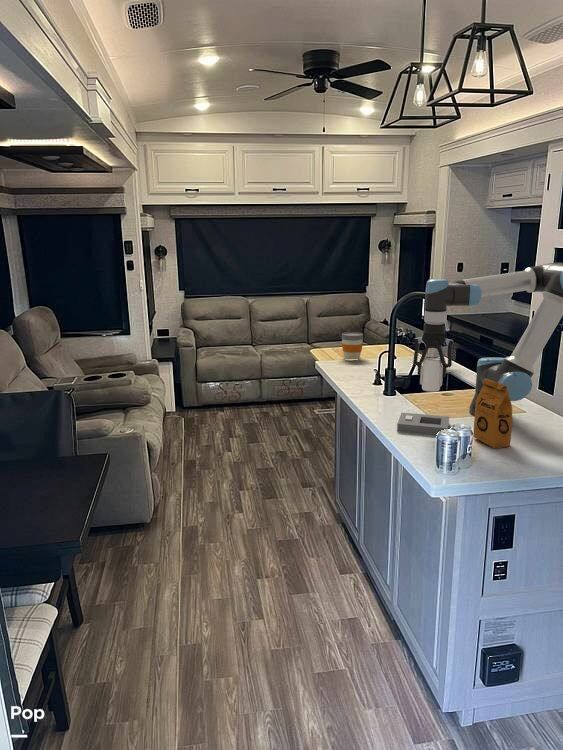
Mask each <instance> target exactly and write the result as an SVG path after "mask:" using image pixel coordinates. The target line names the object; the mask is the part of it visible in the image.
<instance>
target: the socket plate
mask: <svg viewBox="0 0 563 750" xmlns="http://www.w3.org/2000/svg"><path fill="white" fill-rule="evenodd" d="M397 421H398V422H397V423H396V432H399V431H400V432H399V433H409V432H410V433H411V434H420V435H421V434H422V435H429V436H430V435H431V436H437V435H436V434H437V433H438V432H439V431H441V430H444V429H448V430H449V425H450V416H446V415H434V414H425V413H411V412H401V413H400V415H399V418H398V420H397ZM410 433H409V434H410Z"/></svg>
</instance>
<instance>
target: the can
mask: <svg viewBox="0 0 563 750" xmlns="http://www.w3.org/2000/svg"><path fill="white" fill-rule="evenodd" d="M422 366H423V378H422V384H421V389H422V391H424V392H428V393H430V392H431V393H435V392H437V393H438V392H439V391H440V390H441V386H439V385H440V369H441V367H442V363H441V361H440V358H438V357H425V360H424V362H423V363H422Z"/></svg>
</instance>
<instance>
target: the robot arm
mask: <svg viewBox="0 0 563 750" xmlns="http://www.w3.org/2000/svg"><path fill="white" fill-rule="evenodd" d="M524 291H526V292H527V293H528V294H529V293H536V292H537V293H542V296H543V298H542V299H543V300H542V301H541V302H540V304H539V306H538V308H537V309H536V311H535V313H534V315H533V317H532V318H531V320H530V322H529V323H528V325H527V327H526V329H525V331H524V332H523V334H522V336H521V337H520V338H519V340H518V343H517V344H516V346H515V348H514V350H513V352H512V353H511V355H510V356H508V357H495V356H494V357H481V358H479V359H478V361H477V365H476V379H475V392H474V394H473V398H472V400H471V402H470V405H469V409H468V412H469V414H471V415H473V416H474V417H475V404H476V399H477V397H478V395H479V393H480V391H481V389H482V387H483V385H484V383H483V380H484V379H489V380H492V381H495V382H499V383H500V384H503V385H505V386H507V390H508V393H509V397H510V400H511V402H517V401H521V400H524V399H525V398H526V397H527V396H528V395H529V394H530V392H532V391H531V390H532V388H533V380H532V377H533V376H534V374H535V370H534V368H533V367H534V365H535V364H536V362H537V360H538V359H539V357H540V355H541V353H543V352H542V351H543V350H544V348H545V347H546V344H547V343H548V341H549V339H550V338H551V336H552V335H553V333H554V331H555V329H556V327H557V326H558V325H559V323H560V320H561V319H562V318H563V262H558V261H557V262H550V263H545V264H540V265H535V266H531V267H530V266H529V267H526V268H525V269H524V270H521V271H513V272H508V273H500V274H499V273H498V274H493V275H488V276H487V275H485V276H480V277H473V278H466V279H458V280H452V281H451V280H448V279H444V278H440V279H439V278H432V279H428V280H427V281H426V285H425V293H424V294H425V297H424V298H425V299H424V300H425V302H424V305H425V306H424V318H423V320H424V323H423V334H422V336H421V337H415V338H414V344H415V345H414V354H413V361H412V365H413V366H417V375H418V376H420V378H419V385H422V378H423V360H424V358H425V356H426V353H428V351H429V349H437V350H438V354H439V356H440V359H441V369H440V385H439V386H440V387H442V385H443V378H445V377H446V375H447V369H448V368H451V367H452V365H453V361H452V357H453V356H452V353H453V352H452V350H453V349H452V345H453V343H454V340H453V339H449V338H447V337H446V324H445V323H446V321H447V310H448V309H447V307H451V306H452V307H453V306H454V307H464V306H465V307H466V306H468V307H470V306H478V305H479V304H480V303H481V301H482V298H483V297H490V296H498V295H505V294H510V293H511V294H512V293H518V292H524ZM422 342H423V344H424V345H425V347H424V349H423V352H422V354H421V356H420V359H419V357H418V356H419V351H420V344H421V343H422ZM444 343H446V346H447V362H446V358H445V355H444V352H443V348H442V345H443V344H444ZM418 359H419V361H418Z"/></svg>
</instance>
